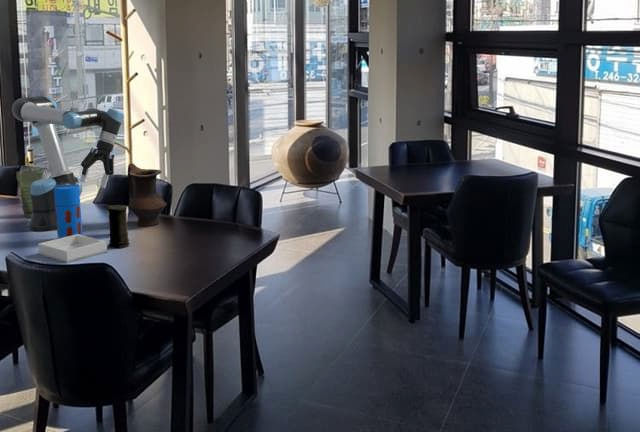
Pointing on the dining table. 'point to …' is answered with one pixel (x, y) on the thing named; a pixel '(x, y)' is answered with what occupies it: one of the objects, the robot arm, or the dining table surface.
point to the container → (118, 226)
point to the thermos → (68, 210)
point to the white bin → (72, 248)
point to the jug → (144, 195)
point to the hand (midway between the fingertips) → (92, 185)
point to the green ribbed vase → (27, 187)
